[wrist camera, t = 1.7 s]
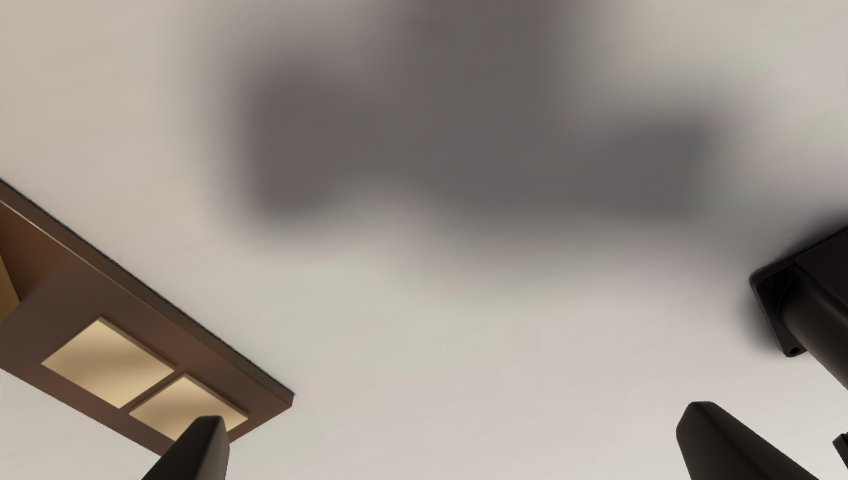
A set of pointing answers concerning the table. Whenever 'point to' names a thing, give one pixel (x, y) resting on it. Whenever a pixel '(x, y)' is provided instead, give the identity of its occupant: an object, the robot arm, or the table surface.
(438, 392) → the table surface
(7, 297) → the tall tan block
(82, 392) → the board
